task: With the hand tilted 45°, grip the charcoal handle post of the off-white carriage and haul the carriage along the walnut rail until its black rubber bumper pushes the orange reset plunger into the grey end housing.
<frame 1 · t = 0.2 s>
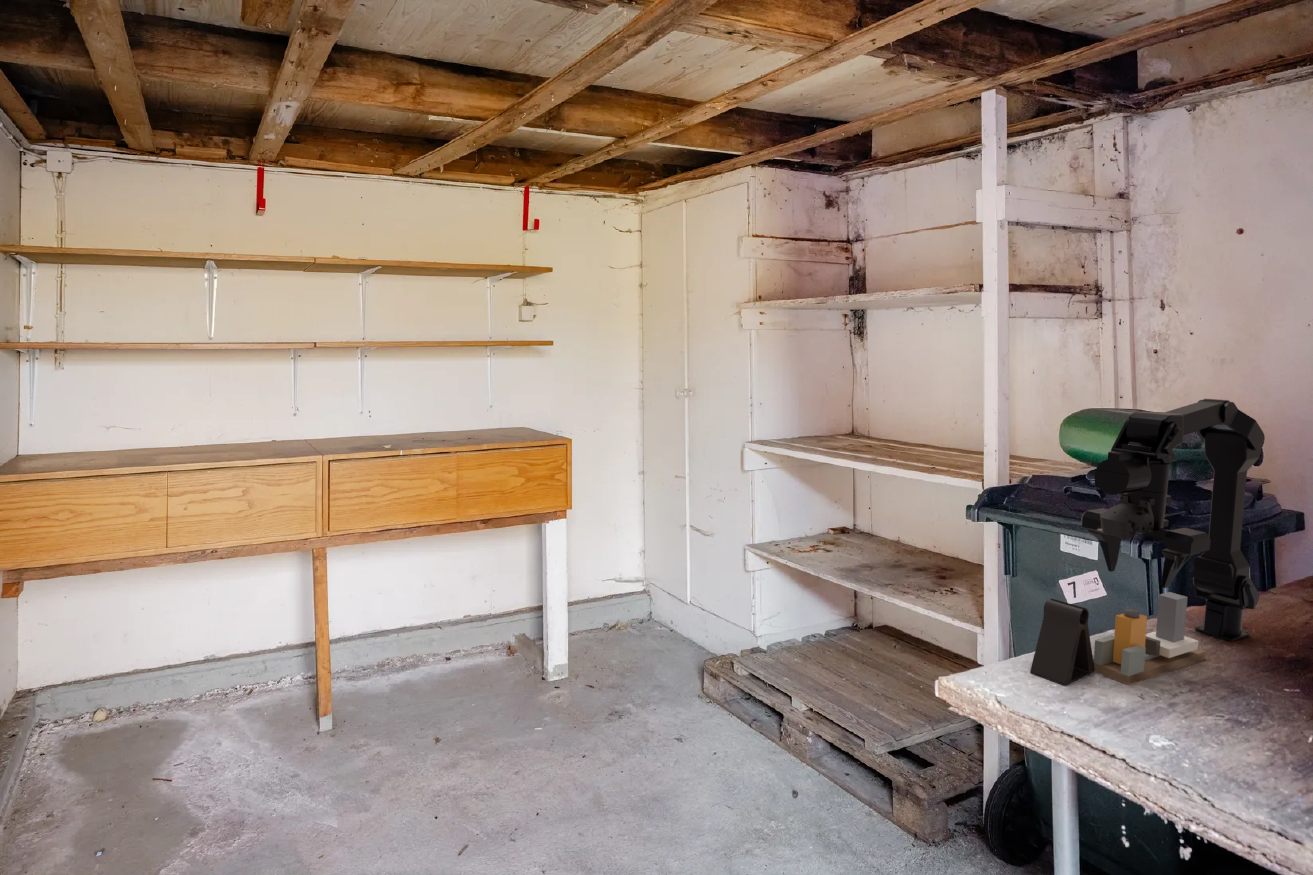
hand: (1137, 579, 136), 15 cm above the workbench, tool pointing down, fingers open, 9 cm apart
rail bed: (1150, 665, 137), on the workbench
carriage: (1165, 622, 138), point 7 cm above the workbench, slide at 0.0 cm
end housing: (1117, 675, 133), resting on rail bed
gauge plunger: (1130, 636, 133), point 6 cm above the workbench, slide at 0.0 cm
phone stand: (1062, 673, 135), on the workbench
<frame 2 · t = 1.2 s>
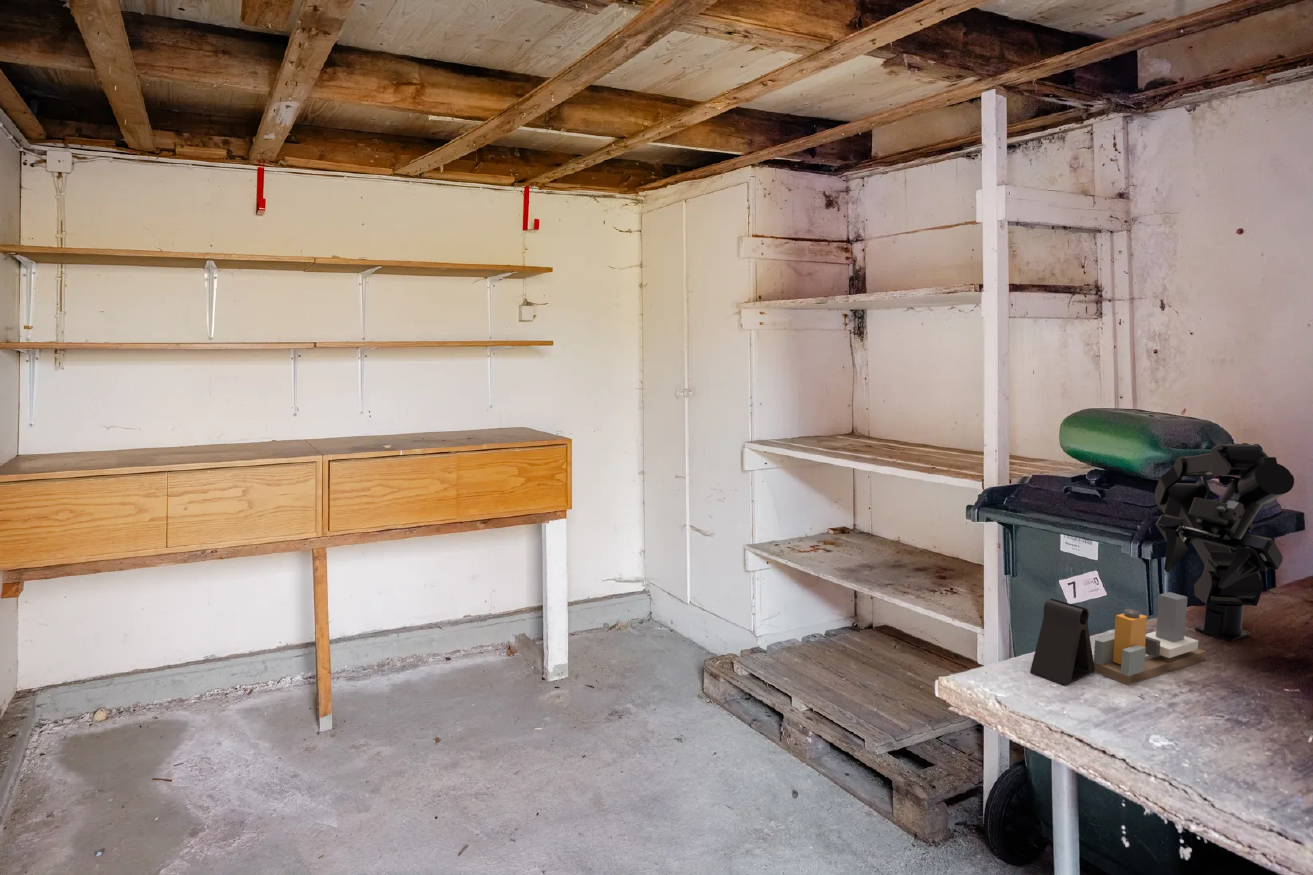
hand: (1192, 578, 140), 13 cm above the workbench, tool tilted 45°, fingers open, 9 cm apart
nothing on the workbench moved.
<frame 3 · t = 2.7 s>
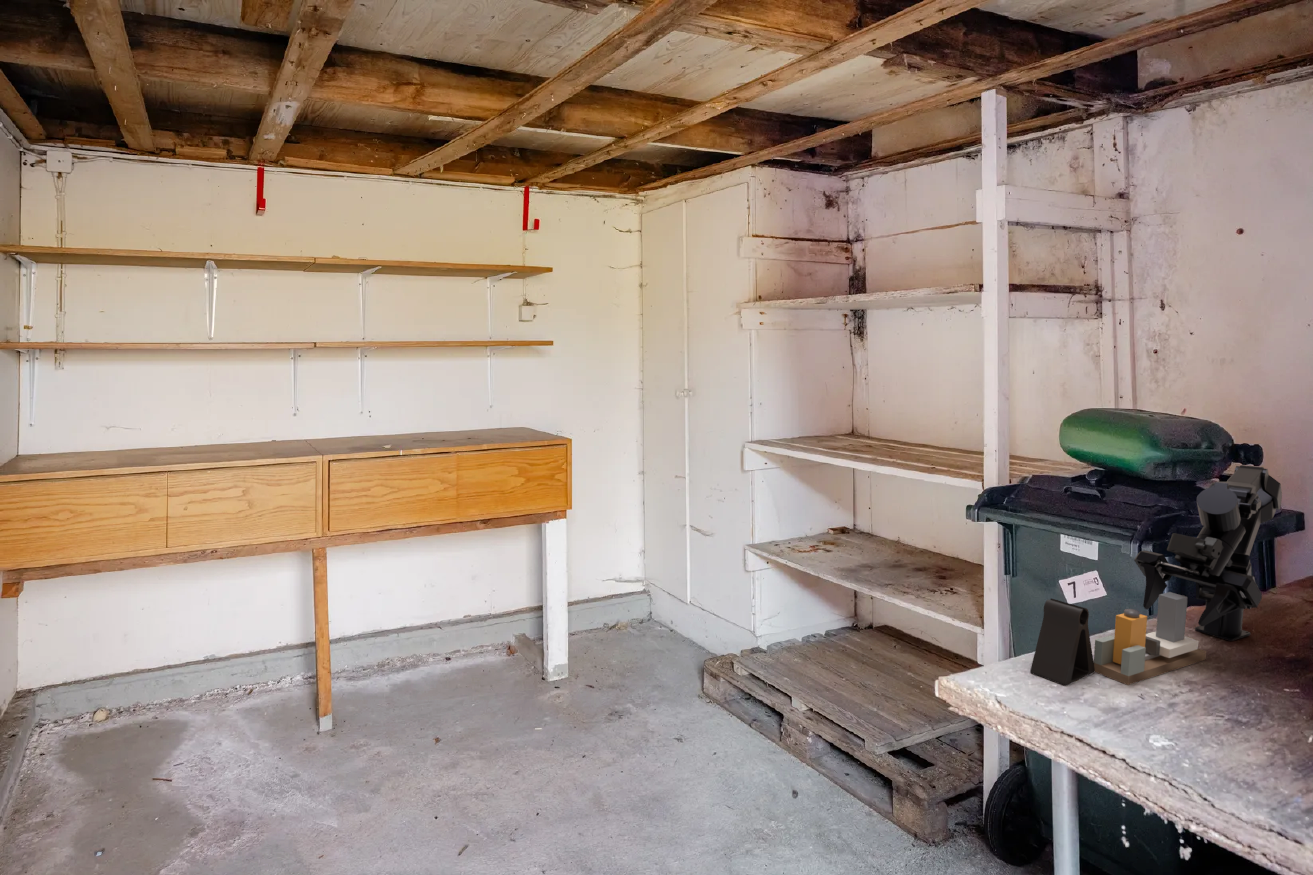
hand: (1171, 616, 138), 8 cm above the workbench, tool tilted 45°, fingers open, 9 cm apart
nothing on the workbench moved.
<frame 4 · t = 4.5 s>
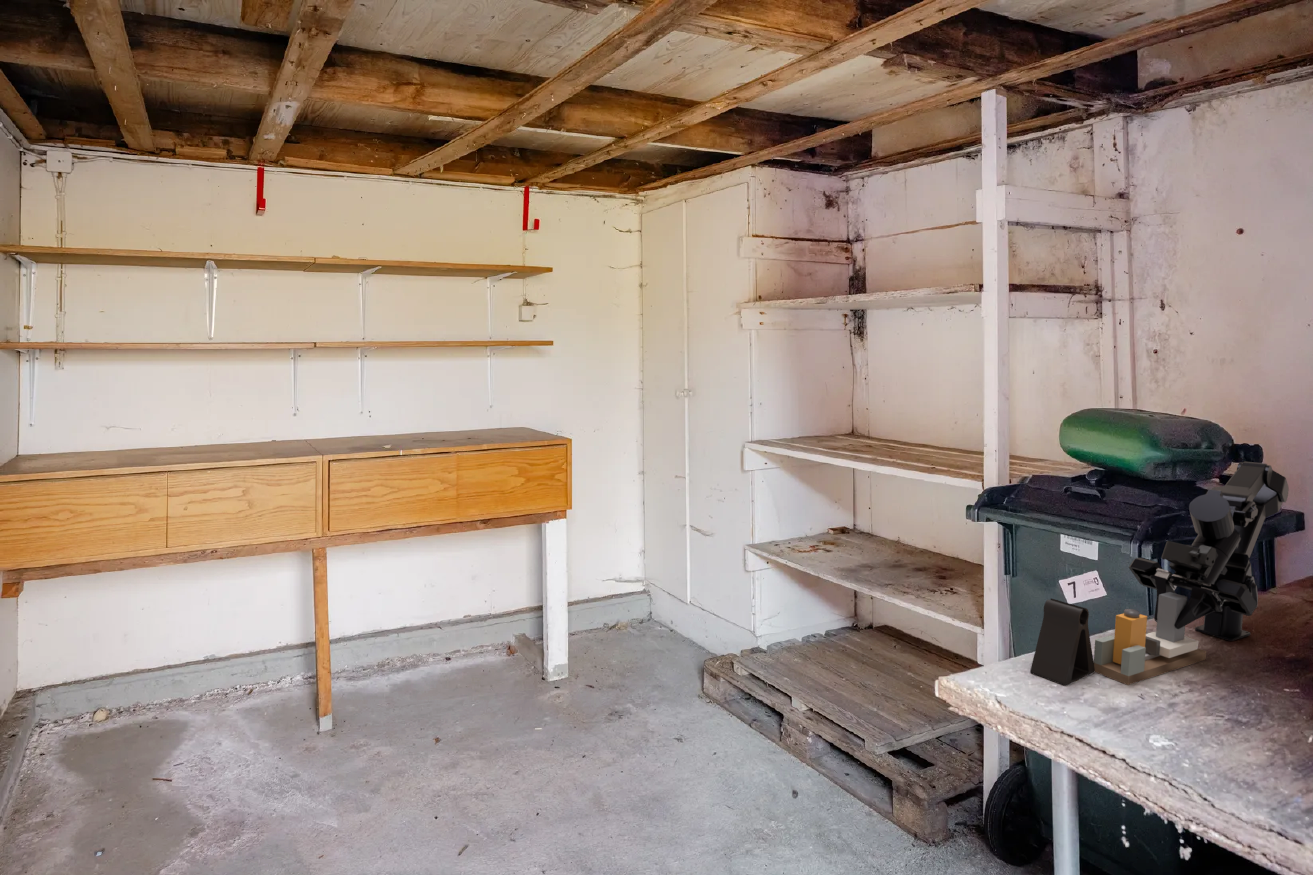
hand: (1166, 624, 138), 7 cm above the workbench, tool tilted 45°, fingers closed on carriage, 3 cm apart
carriage: (1165, 622, 138), point 7 cm above the workbench, slide at 0.0 cm, touching gripper
everything else where it was.
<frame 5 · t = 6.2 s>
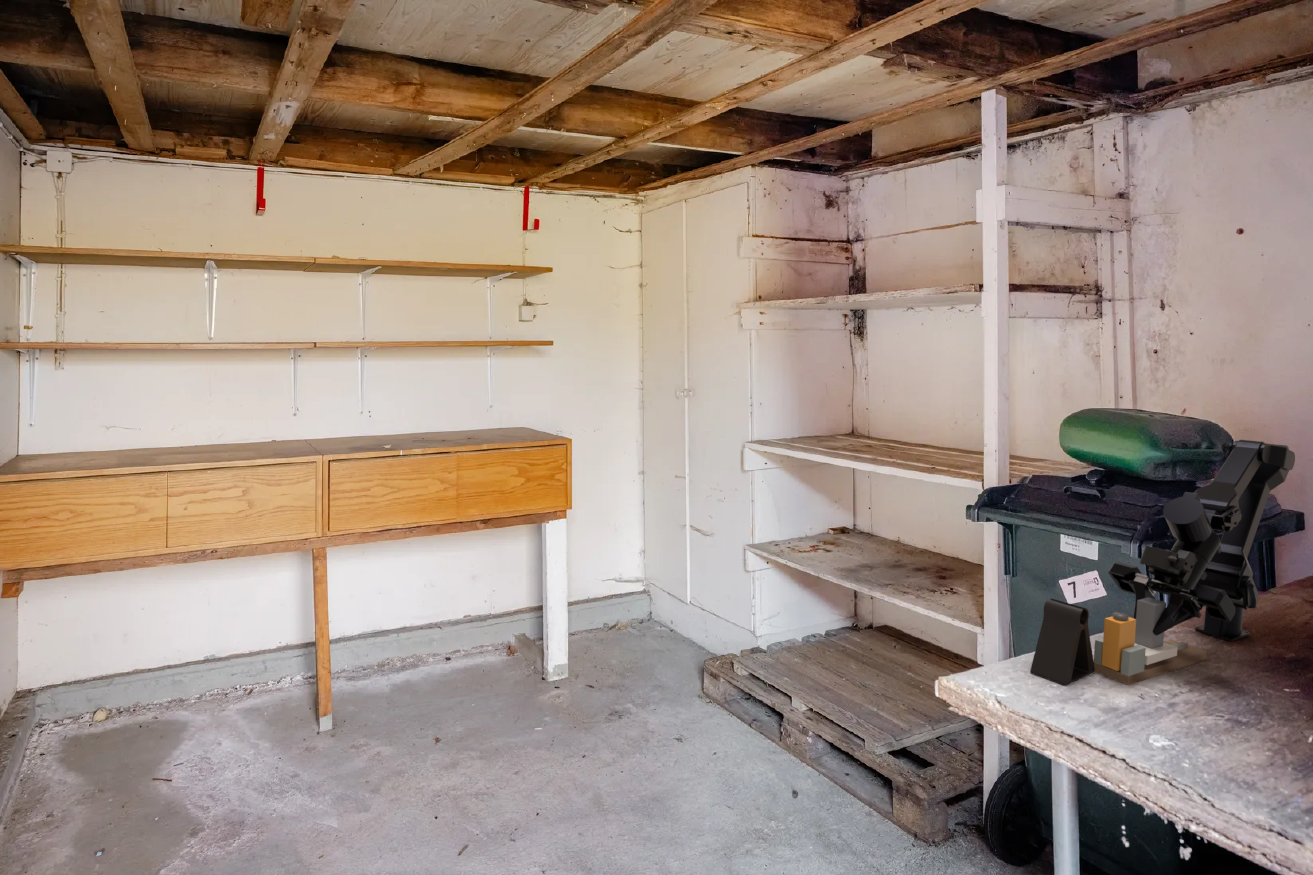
hand: (1144, 630, 135), 7 cm above the workbench, tool tilted 45°, fingers closed on carriage, 3 cm apart
carriage: (1144, 628, 135), point 7 cm above the workbench, slide at 5.9 cm, touching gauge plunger, gripper
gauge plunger: (1119, 639, 132), point 6 cm above the workbench, slide at 2.8 cm, touching carriage
everything else where it was.
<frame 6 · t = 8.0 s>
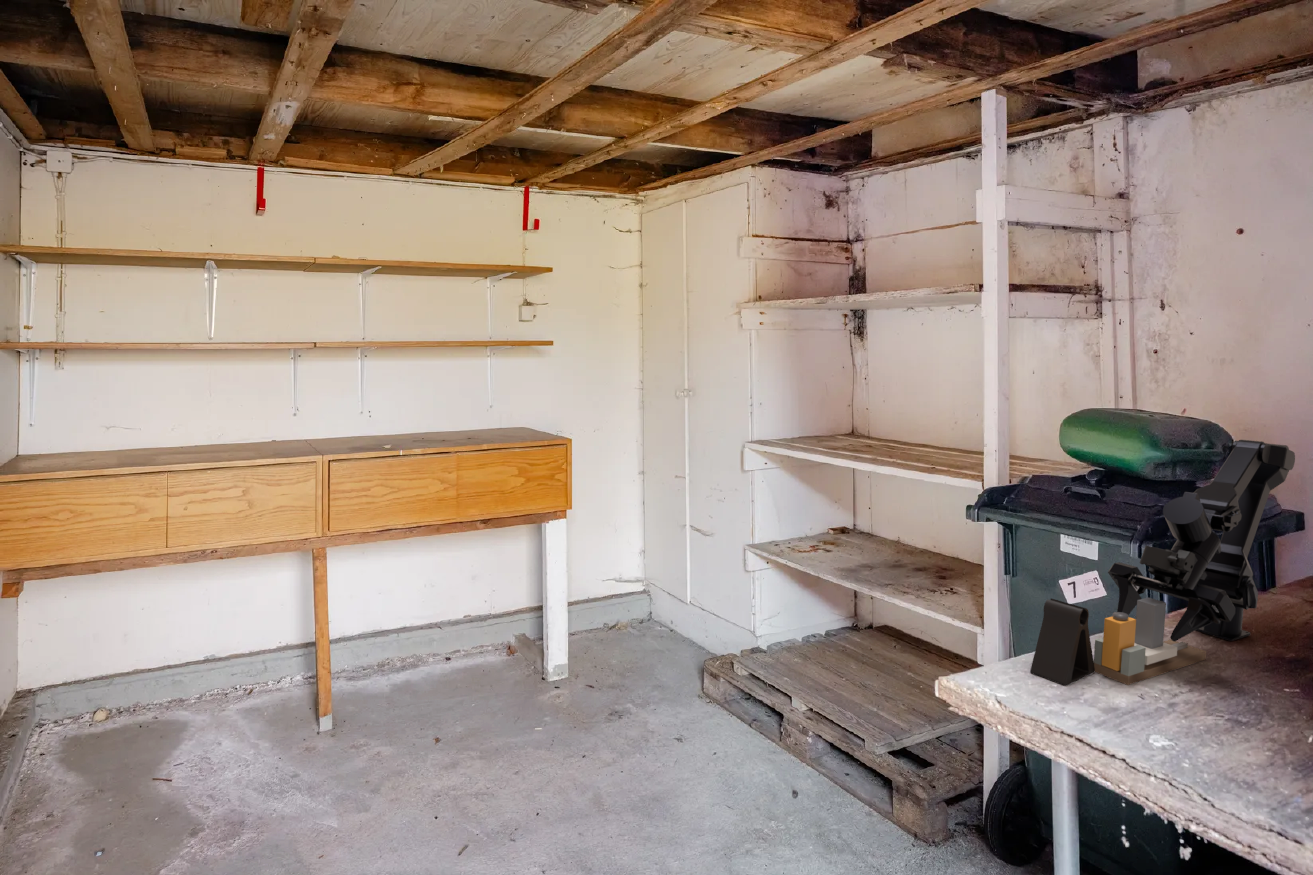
hand: (1144, 630, 135), 7 cm above the workbench, tool tilted 45°, fingers open, 9 cm apart
carriage: (1144, 628, 135), point 7 cm above the workbench, slide at 5.9 cm, touching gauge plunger
everything else where it was.
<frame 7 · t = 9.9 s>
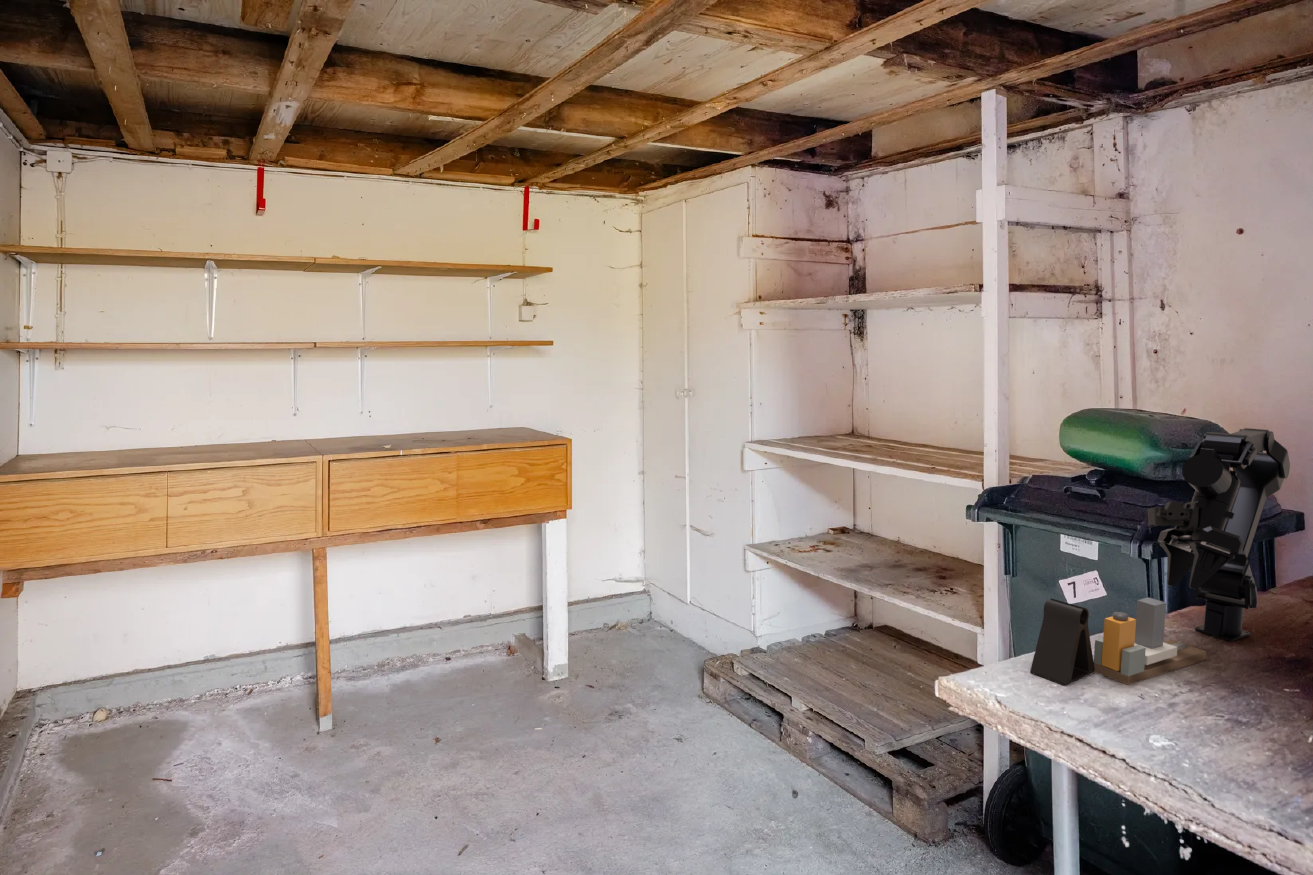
hand: (1181, 587, 139), 13 cm above the workbench, tool tilted 25°, fingers open, 9 cm apart
nothing on the workbench moved.
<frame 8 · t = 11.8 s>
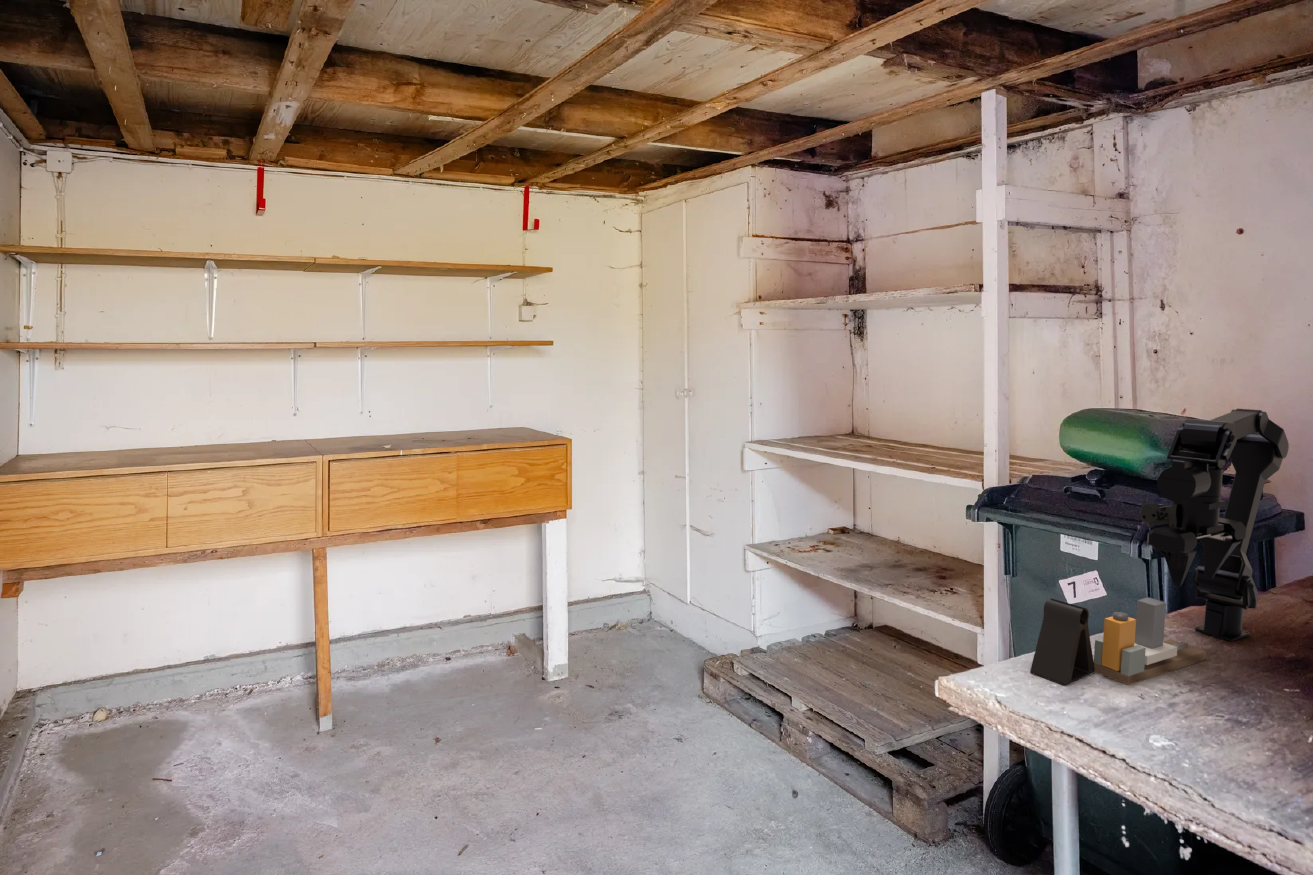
hand: (1193, 581, 140), 13 cm above the workbench, tool pointing down, fingers open, 9 cm apart
nothing on the workbench moved.
at the end: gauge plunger slide at 2.9 cm; carriage slide at 5.9 cm; the gripper is holding nothing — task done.
